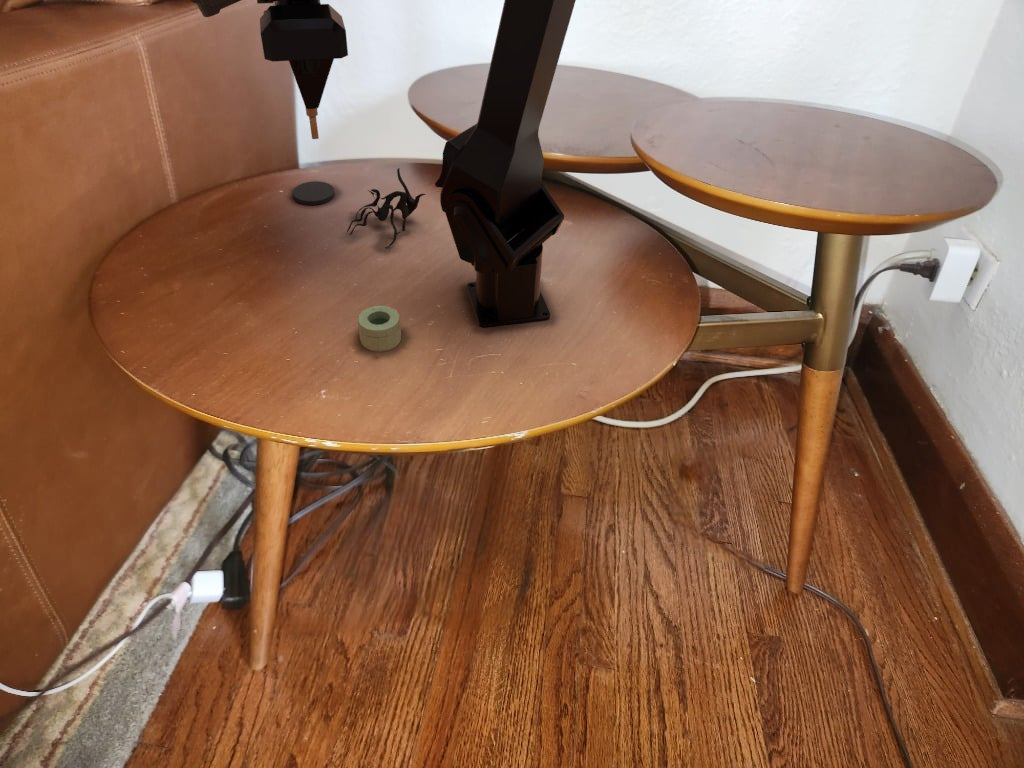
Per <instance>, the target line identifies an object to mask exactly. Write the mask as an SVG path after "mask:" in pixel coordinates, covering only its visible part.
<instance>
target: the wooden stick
mask: <svg viewBox="0 0 1024 768" xmlns="http://www.w3.org/2000/svg"><path fill="white" fill-rule="evenodd" d="M305 115H306V116H307V117H308V119H309V127H310V134H311V140H318V139H319V137H320V136H319V130H318V122H317V117H318V115H319V113H318V108H317V109H307V108H306V107H305Z"/></svg>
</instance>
